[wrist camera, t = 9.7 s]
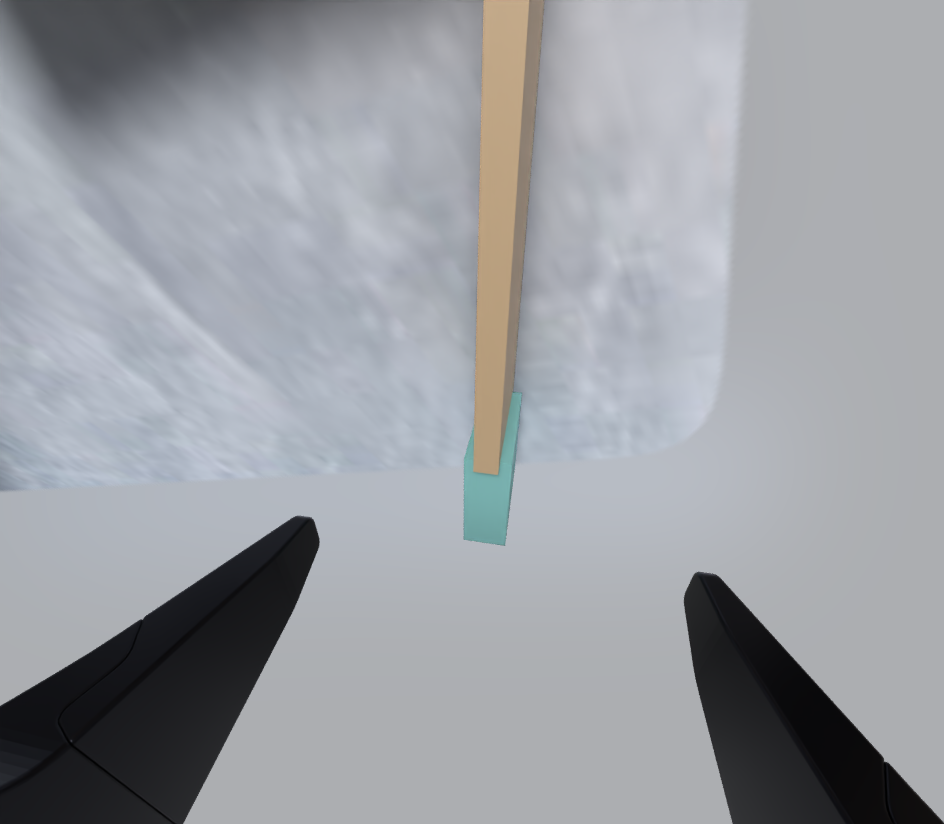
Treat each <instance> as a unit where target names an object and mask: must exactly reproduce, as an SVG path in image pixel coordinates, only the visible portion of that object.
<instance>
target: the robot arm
mask: <svg viewBox="0 0 944 824" xmlns="http://www.w3.org/2000/svg"><path fill="white" fill-rule="evenodd" d="M318 548H319V536H318V533H317V529H316V526H315V522H314V520H313V519H312V518H311V517H304V516H295V517H293V518H291V519H290V520H288V521H287V522H285V523H284V524H282V525H281V526H279V527H278V528H276V529H275V530H273V531H272V532H271V533H269V534H267V535H266V536H265V537H263V538H262V539H260V540H259V541H257V542H256V543H254V544H253V545H251V546H250V547H248V548H247V549H245V550H244V551H242V552H241V553H239V554H238V555H236V556H235V557H233V558H232V559H230V560H229V561H227V562H226V563H224V564H223V565H221V566H220V567H218V568H217V569H216V570H214V571H212V572H211V573H209V574H208V575H206V576H205V577H203V578H202V579H200V580H199V581H197V582H196V583H194V584H193V585H191V586H190V587H188V588H187V589H185V590H184V591H182V592H181V593H179V594H178V595H176V596H175V597H173V598H172V599H171V600H169V601H167V602H166V603H164V604H163V605H162V606H160V607H158V608H157V609H155V610H154V611H152V612H151V613H149V614H148V615H146V616H145V617H144V619H143V620H139V621H137V622H136V623H134V624H133V625H131V626H130V627H128V628H127V629H125V630H124V631H122V632H121V633H119V634H118V635H116V636H115V637H113V638H112V639H110V640H108V641H107V642H105V643H104V644H102V645H101V646H99V647H98V648H96V649H95V650H93V651H92V652H90V653H89V654H87V655H85V656H83V657H82V658H80V659H78V660H77V661H75V662H73V663H72V664H70V665H68V666H67V667H65V668H64V669H62V670H60V671H59V672H57V673H55V674H54V675H52V676H50V677H49V678H47V679H45V680H43V681H42V682H40V683H38V684H37V685H35V686H33V687H32V688H30V689H28V690H26V691H25V692H23V693H21V694H20V695H18V696H16V697H15V698H13V699H11V700H10V701H8V702H6V703H4V704H3V705H1V706H0V824H183V823H184V821H185V819H186V817H187V815H188V813H189V811H190V809H191V807H192V806H193V804H194V802H195V800H196V798H197V796H198V794H199V792H200V790H201V788H202V786H203V784H204V782H205V780H206V779H207V777H208V775H209V773H210V771H211V769H212V767H213V765H214V763H215V761H216V759H217V757H218V755H219V753H220V751H221V750H222V747H223V746H224V743H225V742H226V740H227V738H228V736H229V734H230V732H231V730H232V728H233V726H234V724H235V722H236V720H237V718H238V717H239V715H240V712H241V711H242V709H243V707H244V705H245V703H246V701H247V699H248V697H249V695H250V693H251V691H252V690H253V688H254V686H255V684H256V682H257V680H258V678H259V676H260V674H261V672H262V670H263V668H264V666H265V664H266V662H267V661H268V658H269V657H270V655H271V653H272V651H273V649H274V647H275V645H276V643H277V641H278V639H279V637H280V635H281V633H282V631H283V630H284V628H285V626H286V624H287V622H288V620H289V618H290V616H291V614H292V612H293V610H294V608H295V605H296V603H297V601H298V599H299V596H300V594H301V591H302V589H303V586H304V584H305V581H306V578H307V576H308V573H309V571H310V568H311V566H312V563H313V561H314V558H315V556H316V553H317V551H318ZM684 606H685V614H686V620H687V627H688V634H689V641H690V647H691V654H692V661H693V667H694V673H695V679H696V683H697V687H698V691H699V695H700V699H701V703H702V707H703V711H704V714H705V718H706V722H707V726H708V730H709V734H710V737H711V741H712V745H713V749H714V753H715V757H716V761H717V765H718V769H719V773H720V777H721V780H722V784H723V788H724V792H725V796H726V799H727V804H728V808H729V811H730V815H731V819H732V823H733V824H944V823H943V821H942V820H941V819H940V818H939V817H938V816H937V815H936V814H935V813H934V812H933V810H932V809H931V808H930V807H929V806H928V805H927V804H926V803H925V802H924V801H923V800H922V799H921V798H920V797H919V795H918V794H917V793H916V792H915V791H914V790H913V789H912V788H911V787H910V786H909V785H908V784H907V782H905V780H904V779H903V778H902V777H901V776H900V775H899V774H898V773H897V772H896V770H895V769H894V768H893V767H892V766H891V765H890V764H889V763H887V762H884V758H883V757H882V755H881V754H880V753H879V752H878V751H877V750H876V749H875V748H874V747H873V745H872V744H871V743H870V742H869V741H868V740H867V739H866V738H865V737H864V736H863V734H862V733H861V732H860V731H859V730H858V729H857V728H856V727H855V726H854V724H853V723H852V722H851V721H850V720H849V719H848V718H847V717H846V716H845V715H844V713H842V711H841V710H840V709H839V708H838V707H837V706H836V705H835V704H834V702H833V701H832V700H831V699H830V698H829V697H828V696H827V695H826V694H825V693H824V692H823V690H822V689H821V688H820V687H819V686H818V685H817V684H816V683H815V682H814V680H813V679H812V678H811V677H810V676H809V675H808V674H807V673H806V672H805V671H804V669H803V668H802V667H801V666H800V665H799V664H798V663H797V662H796V661H795V660H794V658H793V657H792V656H791V655H790V654H789V653H788V652H787V651H786V650H785V649H784V647H783V646H782V645H781V644H780V643H779V642H778V641H777V640H776V639H775V638H774V636H773V635H772V634H771V633H770V632H769V631H768V630H767V629H766V628H765V627H764V625H763V624H762V623H761V622H760V621H759V620H758V619H757V618H756V617H755V616H754V615H753V613H752V612H751V611H750V610H749V609H748V608H747V607H746V606H745V605H744V603H743V602H742V601H741V600H740V599H739V598H738V597H737V596H736V595H735V594H734V593H733V591H732V590H731V589H730V588H729V587H728V586H727V585H726V584H725V583H724V581H723V580H722V579H721V578H720V577H718V576H717V575H715V574H711V573H704V572H697V573H695V574H694V576H693V577H692V580H691V582H690V584H689V586H688V588H687V590H686V592H685V596H684Z"/></svg>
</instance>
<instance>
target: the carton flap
mask: <svg viewBox="0 0 944 824" xmlns="http://www.w3.org/2000/svg"><path fill="white" fill-rule="evenodd" d="M543 12H544V0H484V9H483V54H482V100H481V145H480V190H479V236H478V281H477V326H476V372H475V417H474V427H473V430H472V434H471V437H470V440H469V444H468V447H467V451H466V454H465V457H464V540H470V541H477V542H483V543H490V544H497V545H504V546H505V541H506V534H507V525H508V518H509V509H510V501H511V493H512V486H513V477H514V470H515V460H516V450H517V439H518V428H519V418H520V407H521V396H522V393H517V392H513V386H514V374H515V361H516V349H517V336H518V324H519V311H520V299H521V286H522V274H523V261H524V249H525V236H526V224H527V211H528V199H529V187H530V174H531V162H532V149H533V137H534V124H535V112H536V99H537V87H538V74H539V62H540V49H541V37H542V24H543Z"/></svg>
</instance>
